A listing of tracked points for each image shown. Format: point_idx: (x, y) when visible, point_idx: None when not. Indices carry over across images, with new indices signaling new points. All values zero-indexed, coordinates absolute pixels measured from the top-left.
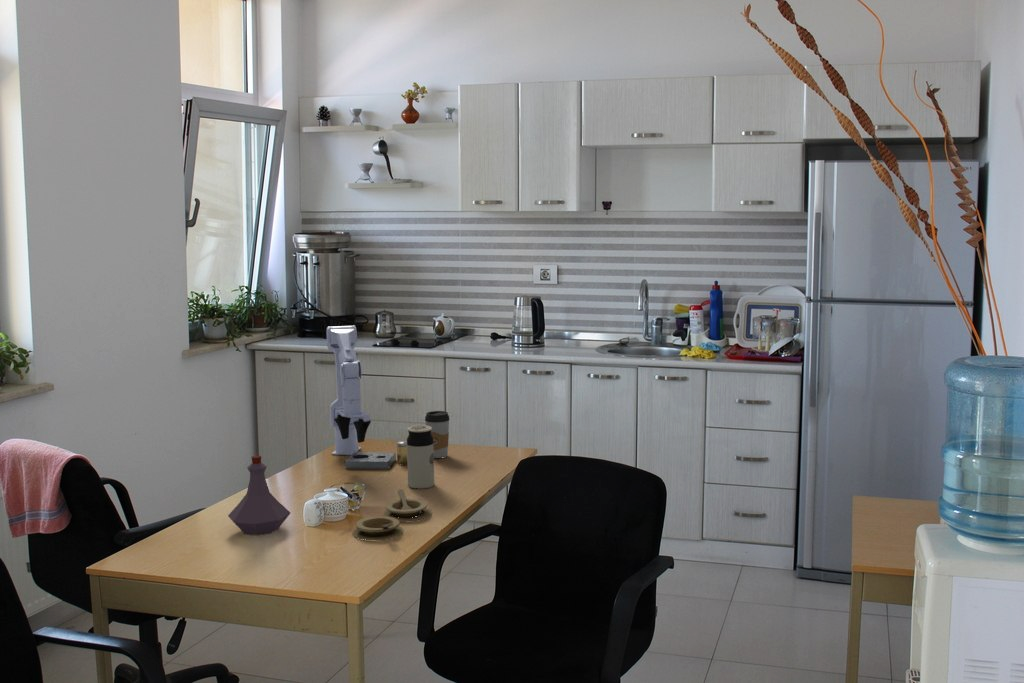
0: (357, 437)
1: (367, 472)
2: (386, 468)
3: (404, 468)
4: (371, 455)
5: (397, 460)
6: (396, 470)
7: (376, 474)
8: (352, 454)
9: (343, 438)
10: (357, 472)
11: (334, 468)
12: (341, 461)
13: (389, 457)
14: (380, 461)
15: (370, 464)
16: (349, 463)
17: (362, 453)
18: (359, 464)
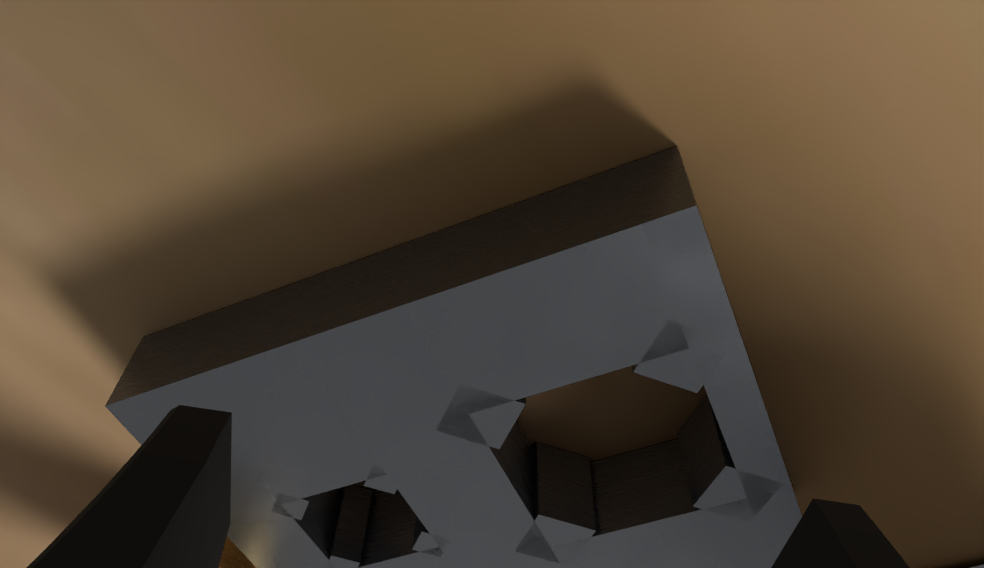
0: (157, 506)
1: (247, 123)
2: (153, 339)
3: (22, 428)
4: (519, 532)
5: (234, 553)
6: (18, 340)
7: (51, 94)
8: (786, 489)
9: (820, 515)
10: (377, 60)
11: (855, 89)
12: (918, 385)
13: (252, 539)
14: (196, 384)
15: (326, 307)
16: (623, 210)
17: (684, 554)
18: (475, 254)
